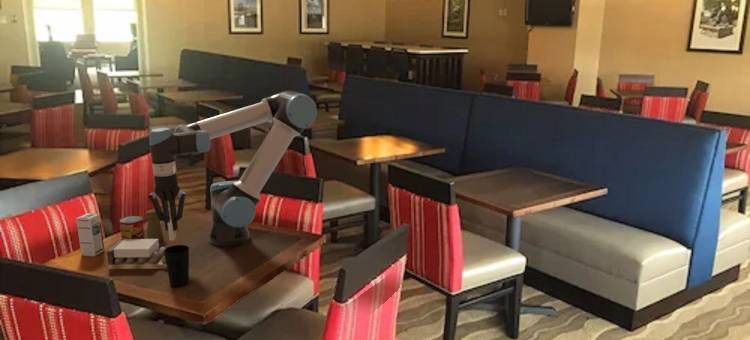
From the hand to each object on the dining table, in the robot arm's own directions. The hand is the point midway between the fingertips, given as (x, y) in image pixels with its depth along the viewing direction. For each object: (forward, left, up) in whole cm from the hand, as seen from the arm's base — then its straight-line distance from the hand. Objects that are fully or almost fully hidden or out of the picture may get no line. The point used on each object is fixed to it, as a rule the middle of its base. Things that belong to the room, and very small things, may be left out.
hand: (172, 239), depth 214 cm
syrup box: (+33, -9, -9) cm, 35 cm away
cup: (-7, +19, -9) cm, 22 cm away
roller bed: (+10, 0, -8) cm, 13 cm away
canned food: (+19, -12, -9) cm, 24 cm away
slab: (+13, 0, -5) cm, 14 cm away
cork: (+16, -26, -9) cm, 31 cm away
